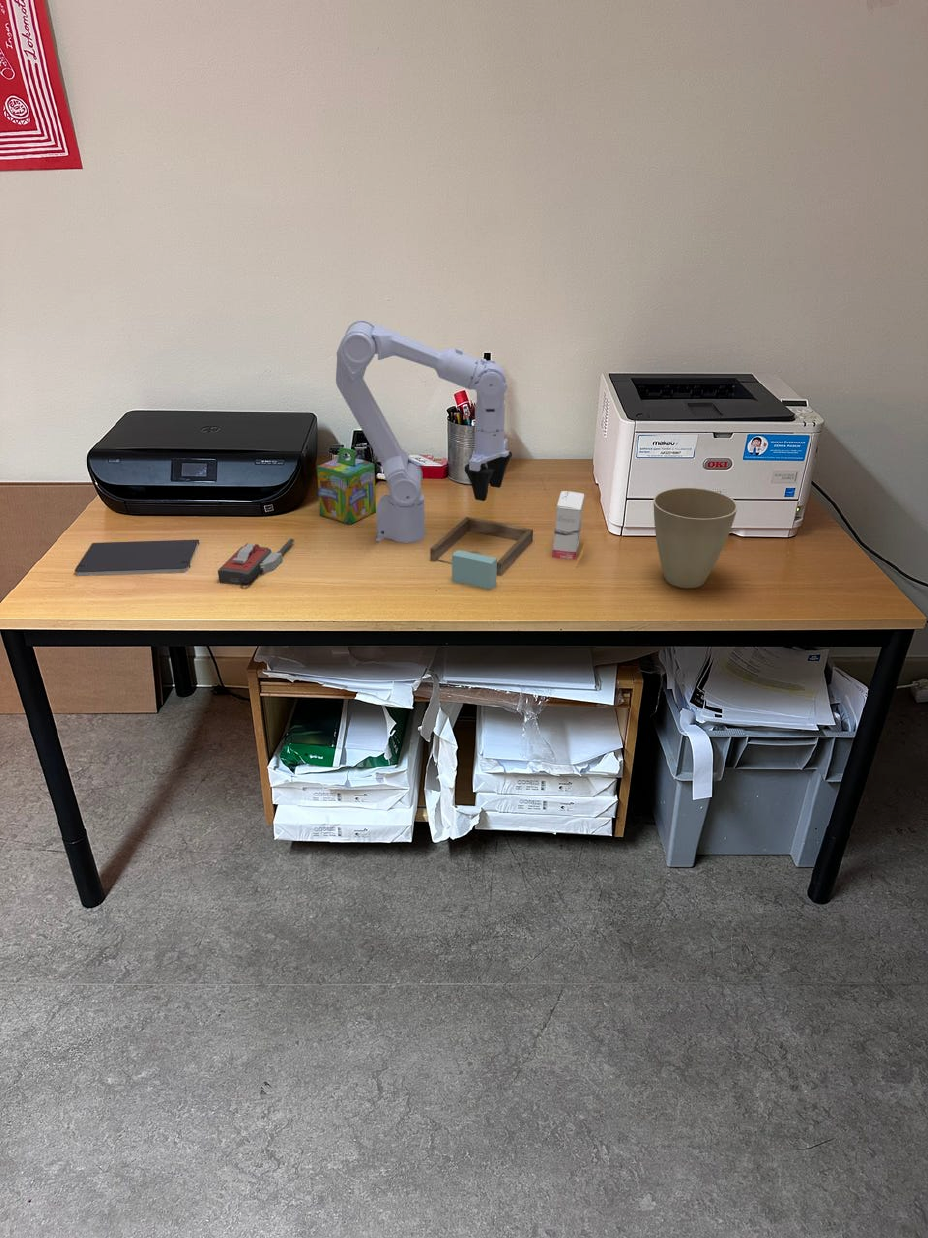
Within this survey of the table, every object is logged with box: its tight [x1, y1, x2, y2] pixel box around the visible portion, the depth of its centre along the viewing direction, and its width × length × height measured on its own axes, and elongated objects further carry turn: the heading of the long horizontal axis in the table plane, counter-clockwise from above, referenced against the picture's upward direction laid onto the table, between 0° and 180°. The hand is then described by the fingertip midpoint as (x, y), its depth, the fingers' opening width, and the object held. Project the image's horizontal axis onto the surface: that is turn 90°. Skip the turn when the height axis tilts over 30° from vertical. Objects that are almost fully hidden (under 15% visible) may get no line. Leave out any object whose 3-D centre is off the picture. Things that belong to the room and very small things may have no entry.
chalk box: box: [316, 446, 377, 526], centre depth 187 cm, size 9×9×15 cm
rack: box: [429, 516, 534, 577], centre depth 172 cm, size 15×17×4 cm
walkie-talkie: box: [217, 538, 295, 587], centre depth 168 cm, size 9×4×20 cm
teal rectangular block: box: [451, 549, 498, 591], centre depth 160 cm, size 8×2×6 cm, turn 65°
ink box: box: [551, 490, 585, 560], centre depth 171 cm, size 9×5×12 cm, turn 168°
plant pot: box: [653, 486, 739, 589], centre depth 160 cm, size 15×15×16 cm
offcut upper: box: [452, 550, 487, 556], centre depth 168 cm, size 6×3×2 cm, turn 97°
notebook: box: [74, 539, 200, 577], centre depth 170 cm, size 13×2×21 cm
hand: (488, 493), depth 174 cm, fingers open, 7 cm apart
